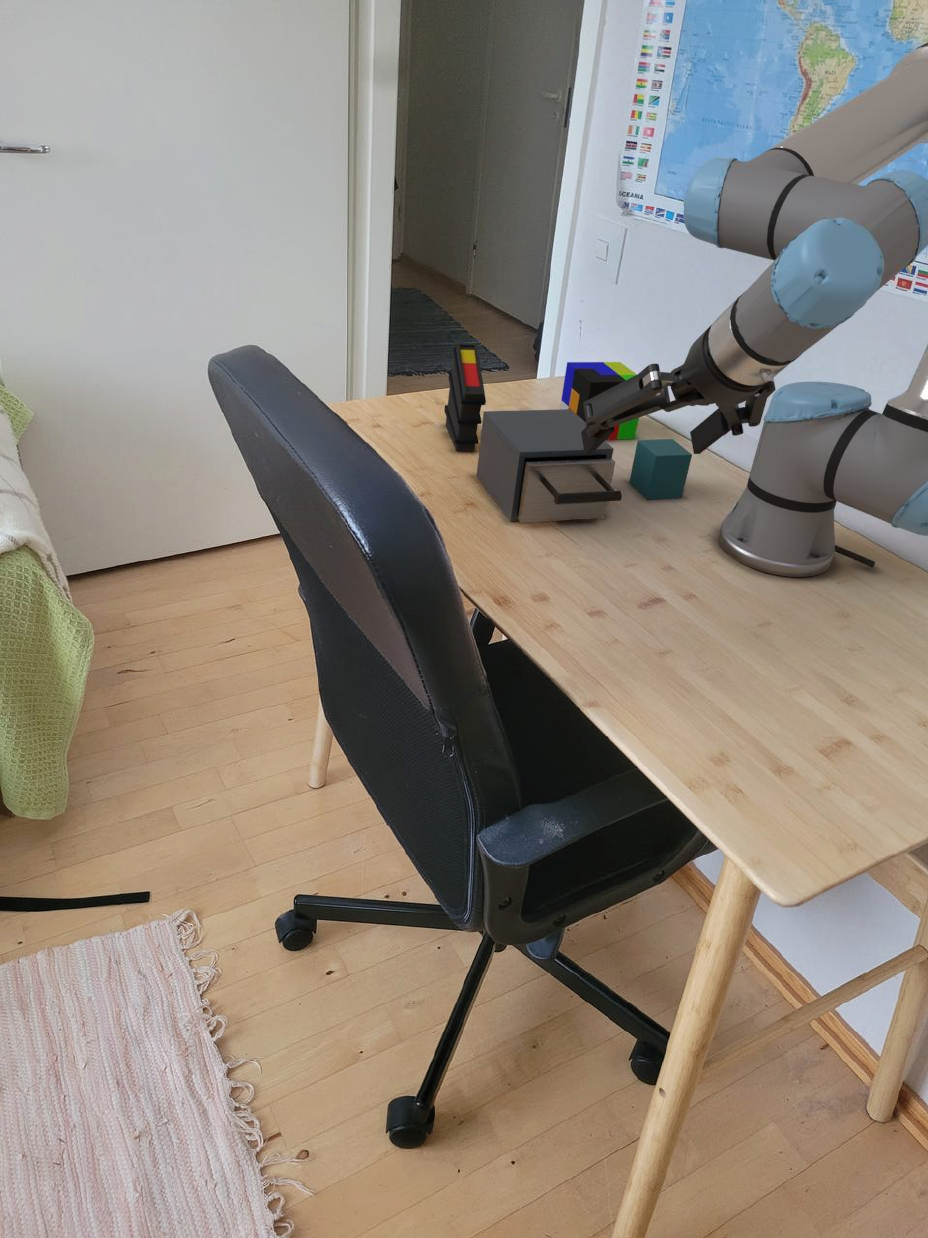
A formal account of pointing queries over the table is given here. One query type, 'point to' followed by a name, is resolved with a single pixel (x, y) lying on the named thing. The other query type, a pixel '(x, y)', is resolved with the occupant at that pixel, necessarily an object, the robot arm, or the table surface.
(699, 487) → the table surface
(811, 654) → the table surface
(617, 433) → the puzzle toy
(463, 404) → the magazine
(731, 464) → the table surface
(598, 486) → the drawer
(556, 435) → the cabinet
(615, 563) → the table surface
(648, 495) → the block
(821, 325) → the robot arm
